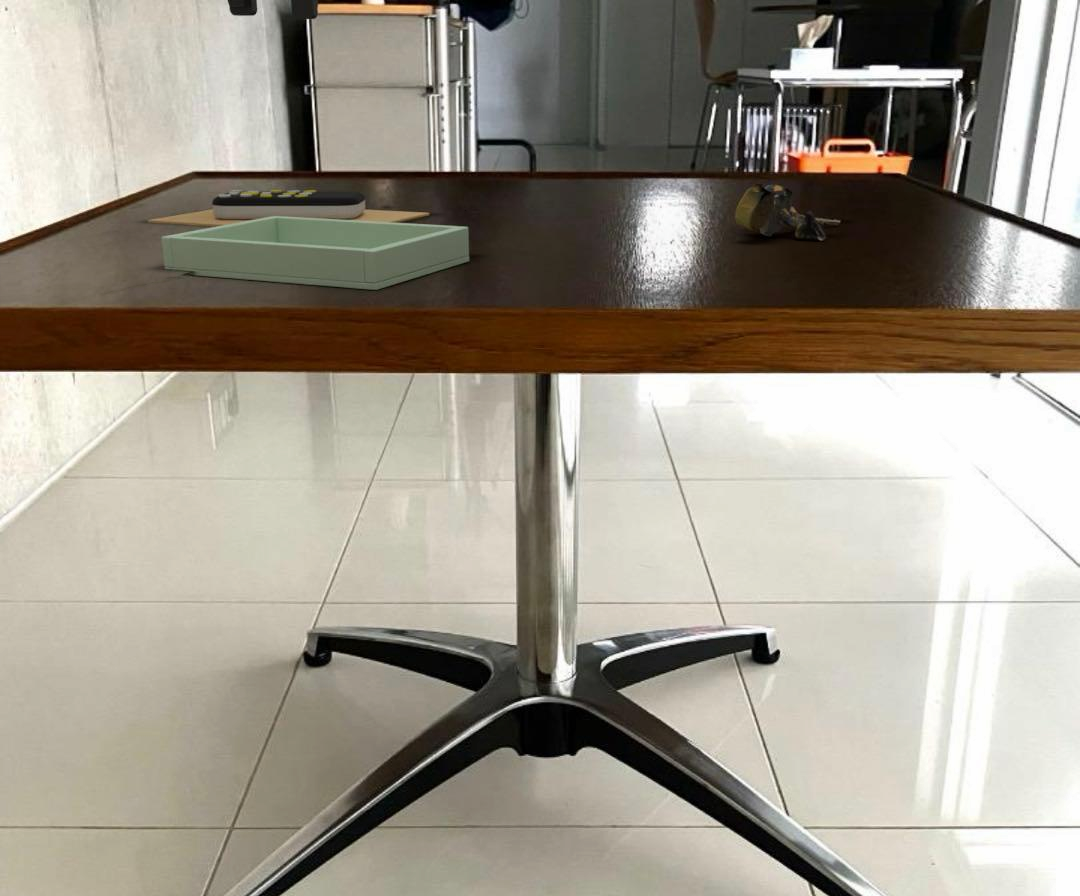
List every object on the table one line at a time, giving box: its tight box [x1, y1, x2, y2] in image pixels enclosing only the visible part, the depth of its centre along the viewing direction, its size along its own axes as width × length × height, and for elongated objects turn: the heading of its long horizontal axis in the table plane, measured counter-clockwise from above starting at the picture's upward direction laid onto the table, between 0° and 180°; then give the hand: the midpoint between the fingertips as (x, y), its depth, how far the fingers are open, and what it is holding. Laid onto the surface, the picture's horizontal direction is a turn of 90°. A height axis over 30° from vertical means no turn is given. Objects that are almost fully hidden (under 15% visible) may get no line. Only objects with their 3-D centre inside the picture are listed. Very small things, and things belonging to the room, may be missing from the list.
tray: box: [160, 216, 470, 291], centre depth 84 cm, size 17×13×2 cm
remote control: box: [211, 189, 366, 220], centre depth 107 cm, size 6×13×2 cm, turn 89°
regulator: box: [735, 183, 841, 242], centre depth 98 cm, size 8×4×15 cm
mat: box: [147, 208, 430, 227], centre depth 108 cm, size 20×14×1 cm
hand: (275, 17), depth 102 cm, fingers open, 8 cm apart
